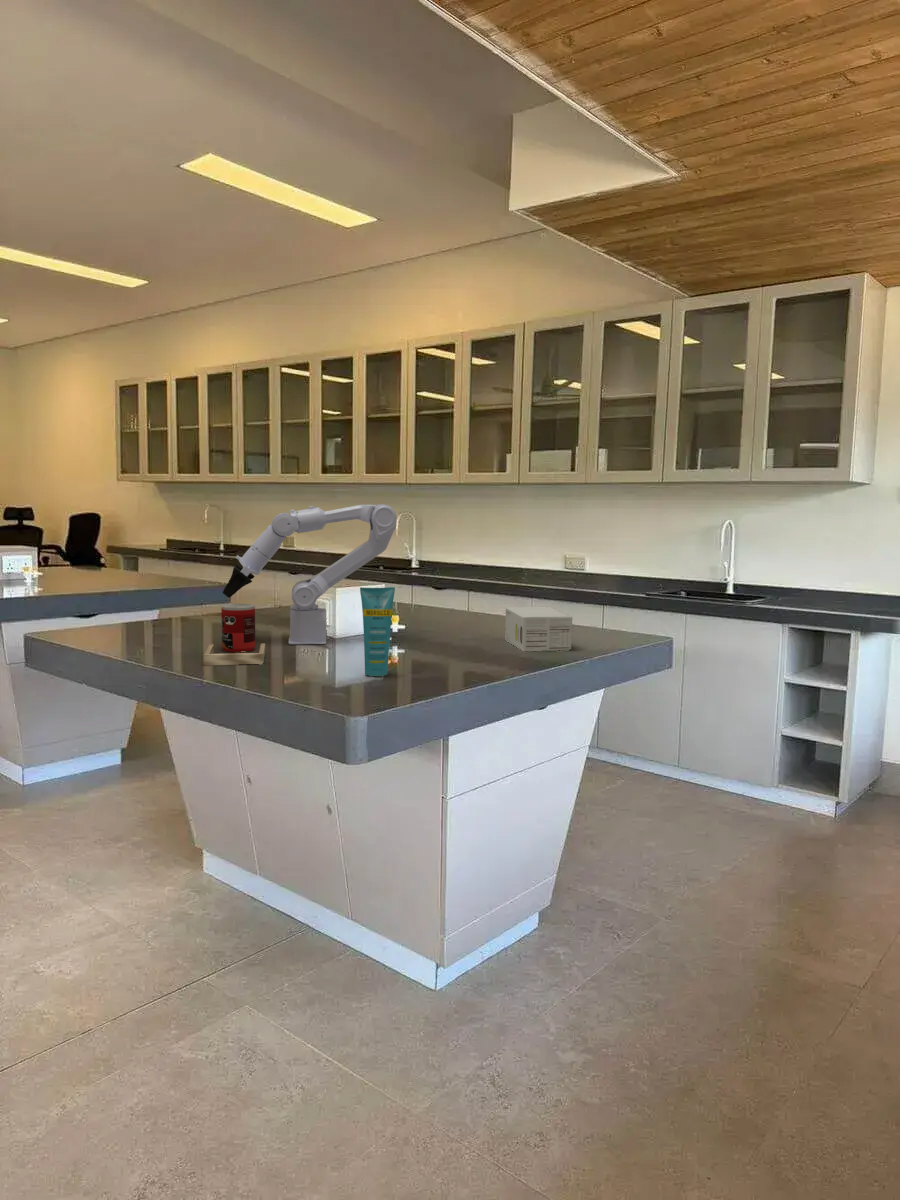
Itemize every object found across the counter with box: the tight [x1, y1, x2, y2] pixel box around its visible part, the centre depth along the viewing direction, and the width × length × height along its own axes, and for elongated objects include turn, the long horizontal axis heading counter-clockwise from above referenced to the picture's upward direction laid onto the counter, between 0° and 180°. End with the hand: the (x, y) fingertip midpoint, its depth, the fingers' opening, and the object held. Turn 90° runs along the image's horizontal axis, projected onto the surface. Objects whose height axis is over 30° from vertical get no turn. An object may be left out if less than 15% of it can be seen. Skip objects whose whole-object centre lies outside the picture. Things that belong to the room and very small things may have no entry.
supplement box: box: [504, 606, 573, 652], centre depth 222 cm, size 17×13×9 cm
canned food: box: [220, 603, 256, 653], centre depth 208 cm, size 8×8×11 cm
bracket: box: [203, 643, 266, 666], centre depth 198 cm, size 13×13×2 cm
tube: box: [359, 586, 396, 677], centre depth 183 cm, size 7×5×19 cm, turn 106°
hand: (226, 593), depth 216 cm, fingers open, 7 cm apart
